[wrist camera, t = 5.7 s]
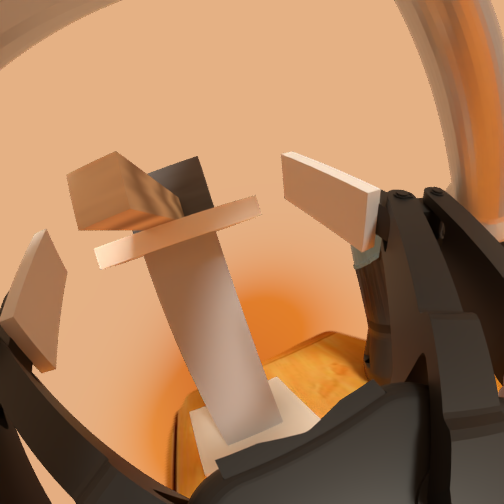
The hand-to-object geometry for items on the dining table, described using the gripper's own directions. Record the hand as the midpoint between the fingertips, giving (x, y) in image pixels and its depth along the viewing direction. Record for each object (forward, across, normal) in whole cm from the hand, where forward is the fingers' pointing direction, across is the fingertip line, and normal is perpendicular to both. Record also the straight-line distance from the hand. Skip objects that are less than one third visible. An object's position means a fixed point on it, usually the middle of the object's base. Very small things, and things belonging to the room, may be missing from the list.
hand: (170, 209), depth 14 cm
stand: (+2, +1, -35) cm, 35 cm away
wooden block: (+11, 0, -6) cm, 12 cm away
